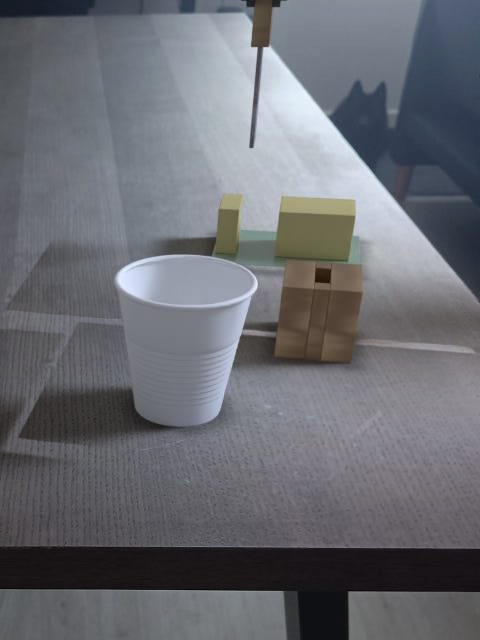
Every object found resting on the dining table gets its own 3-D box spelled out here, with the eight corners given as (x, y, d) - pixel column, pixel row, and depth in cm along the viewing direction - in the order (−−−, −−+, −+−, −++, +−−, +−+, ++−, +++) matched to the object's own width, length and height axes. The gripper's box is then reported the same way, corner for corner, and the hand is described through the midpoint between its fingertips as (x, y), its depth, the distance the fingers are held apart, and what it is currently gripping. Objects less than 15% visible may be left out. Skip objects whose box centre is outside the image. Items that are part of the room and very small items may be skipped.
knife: (261, 141, 100) (279, -56, 91) (259, 148, 98) (277, -53, 89) (244, 141, 100) (260, -56, 91) (242, 148, 98) (258, -52, 89)
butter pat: (239, 237, 106) (243, 194, 104) (235, 254, 102) (239, 209, 100) (220, 236, 107) (223, 193, 104) (215, 253, 103) (218, 208, 100)
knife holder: (349, 343, 88) (362, 264, 84) (349, 374, 83) (362, 292, 79) (277, 337, 89) (286, 259, 86) (273, 367, 85) (282, 286, 81)
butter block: (349, 243, 104) (355, 199, 101) (349, 261, 100) (355, 215, 97) (277, 239, 105) (281, 195, 103) (274, 256, 101) (279, 211, 99)
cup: (267, 438, 75) (283, 295, 69) (137, 459, 73) (143, 315, 67) (210, 379, 83) (221, 247, 77) (93, 397, 81) (94, 263, 75)
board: (357, 250, 106) (359, 235, 106) (357, 286, 98) (360, 271, 97) (218, 242, 110) (219, 228, 109) (208, 276, 102) (209, 261, 101)
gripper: (207, -198, 92) (182, -28, 89) (369, -207, 88) (349, -30, 85) (209, -132, 99) (186, 28, 96) (360, -137, 96) (341, 29, 92)
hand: (263, 0), depth 90 cm, fingers closed on knife, 1 cm apart
